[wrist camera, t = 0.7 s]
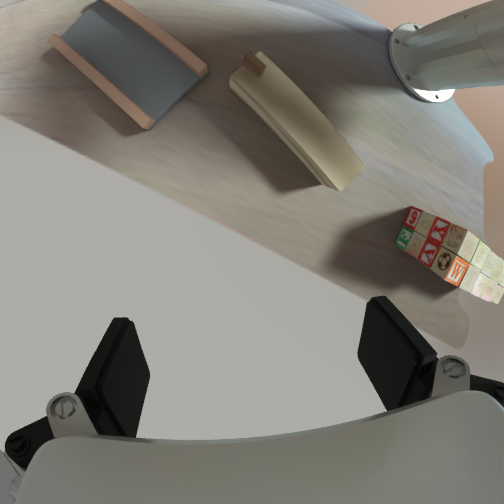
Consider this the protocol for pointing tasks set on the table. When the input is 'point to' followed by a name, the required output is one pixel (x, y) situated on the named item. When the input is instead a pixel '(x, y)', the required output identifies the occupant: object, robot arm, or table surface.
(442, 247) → the stack of blocks
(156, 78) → the jig cradle
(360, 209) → the table surface
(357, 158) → the tapered cream block
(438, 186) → the table surface
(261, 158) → the table surface
